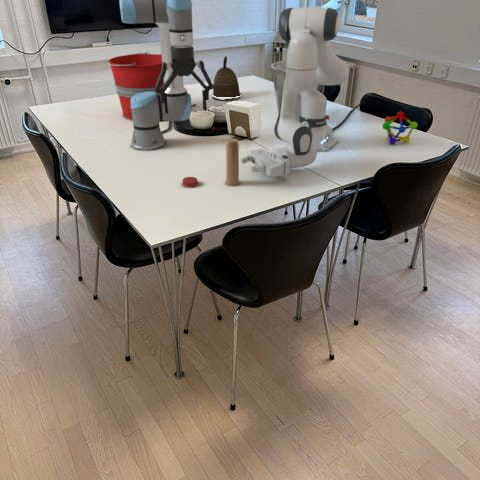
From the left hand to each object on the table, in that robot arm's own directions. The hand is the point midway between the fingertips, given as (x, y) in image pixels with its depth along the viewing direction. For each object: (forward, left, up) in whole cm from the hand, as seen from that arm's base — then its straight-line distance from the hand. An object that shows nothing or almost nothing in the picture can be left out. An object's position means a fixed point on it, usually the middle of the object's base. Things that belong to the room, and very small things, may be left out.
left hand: (185, 111), depth 156 cm
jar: (-3, +16, -28) cm, 32 cm away
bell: (-131, -5, -28) cm, 134 cm away
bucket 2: (-90, +39, -28) cm, 102 cm away
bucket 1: (-88, -45, -28) cm, 103 cm away
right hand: (-6, +21, -22) cm, 31 cm away
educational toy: (-58, +87, -28) cm, 108 cm away
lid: (0, 0, -26) cm, 26 cm away
